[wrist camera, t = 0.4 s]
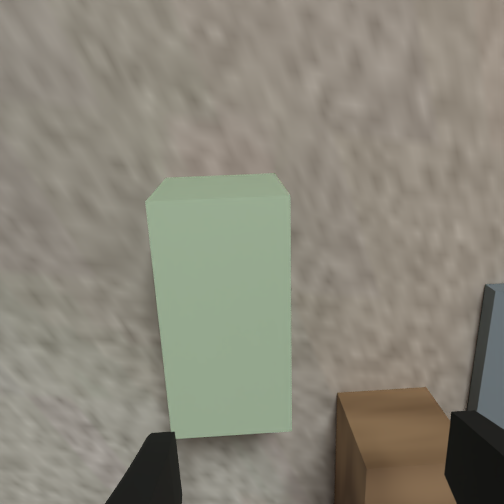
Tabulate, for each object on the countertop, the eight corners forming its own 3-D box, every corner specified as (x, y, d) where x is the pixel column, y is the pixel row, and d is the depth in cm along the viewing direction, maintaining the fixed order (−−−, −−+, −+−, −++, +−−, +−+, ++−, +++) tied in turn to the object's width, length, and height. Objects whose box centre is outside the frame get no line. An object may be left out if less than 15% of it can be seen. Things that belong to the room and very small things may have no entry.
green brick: (277, 359, 21) (291, 431, 17) (184, 364, 21) (171, 439, 16) (274, 172, 18) (290, 195, 14) (166, 177, 18) (145, 201, 14)
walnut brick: (411, 519, 25) (453, 616, 20) (332, 525, 25) (357, 624, 20) (424, 385, 22) (478, 460, 17) (336, 391, 22) (366, 469, 17)
